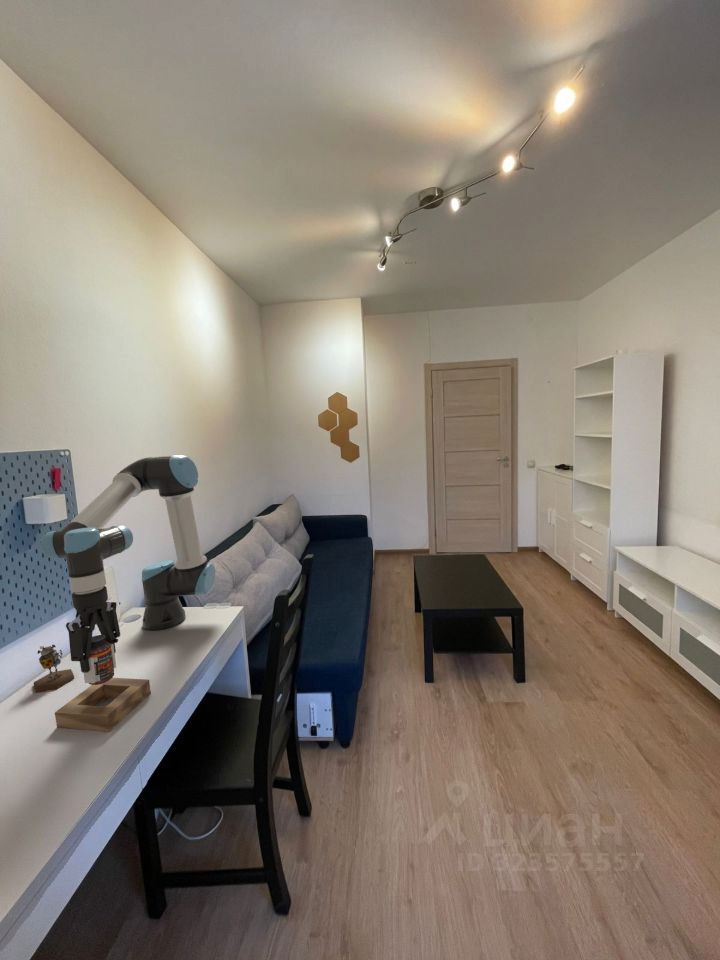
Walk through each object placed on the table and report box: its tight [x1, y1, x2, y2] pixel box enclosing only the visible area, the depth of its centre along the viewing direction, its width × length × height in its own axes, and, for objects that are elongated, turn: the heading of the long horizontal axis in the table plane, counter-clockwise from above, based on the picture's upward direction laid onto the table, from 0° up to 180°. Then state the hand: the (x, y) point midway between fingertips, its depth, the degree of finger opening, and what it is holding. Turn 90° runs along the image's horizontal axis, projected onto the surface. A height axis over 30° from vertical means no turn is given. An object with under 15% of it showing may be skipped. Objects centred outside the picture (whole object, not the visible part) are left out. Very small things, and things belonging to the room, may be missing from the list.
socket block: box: [54, 677, 152, 733], centre depth 109 cm, size 15×15×4 cm
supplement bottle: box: [88, 634, 115, 686], centre depth 107 cm, size 6×6×11 cm
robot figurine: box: [33, 644, 75, 694], centre depth 123 cm, size 11×9×12 cm
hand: (101, 674), depth 108 cm, fingers closed on supplement bottle, 6 cm apart
